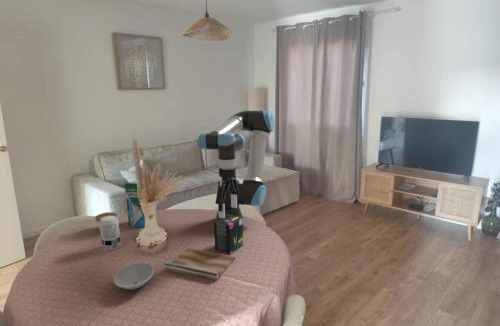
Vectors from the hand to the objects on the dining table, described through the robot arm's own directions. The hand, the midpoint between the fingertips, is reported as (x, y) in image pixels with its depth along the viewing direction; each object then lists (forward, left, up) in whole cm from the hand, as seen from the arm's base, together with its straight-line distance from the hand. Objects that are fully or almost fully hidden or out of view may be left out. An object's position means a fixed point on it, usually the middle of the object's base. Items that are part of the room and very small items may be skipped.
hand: (228, 212), depth 153 cm
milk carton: (-9, -59, -18) cm, 62 cm away
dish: (+40, -21, -18) cm, 49 cm away
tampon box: (0, 0, -18) cm, 18 cm away
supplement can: (+19, -53, -18) cm, 59 cm away
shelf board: (+18, -5, -18) cm, 26 cm away
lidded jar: (+3, -71, -18) cm, 73 cm away
